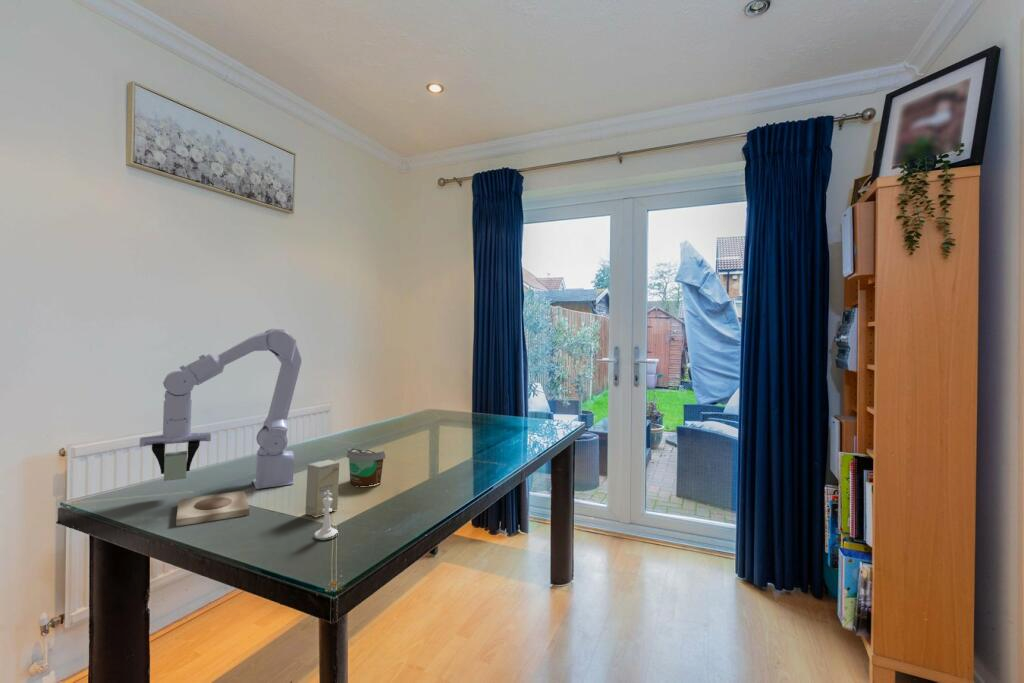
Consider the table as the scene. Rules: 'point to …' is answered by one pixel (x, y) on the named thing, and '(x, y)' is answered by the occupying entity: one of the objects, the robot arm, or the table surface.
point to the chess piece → (326, 519)
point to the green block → (175, 465)
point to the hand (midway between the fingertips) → (175, 471)
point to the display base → (211, 508)
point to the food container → (365, 466)
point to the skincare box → (321, 486)
